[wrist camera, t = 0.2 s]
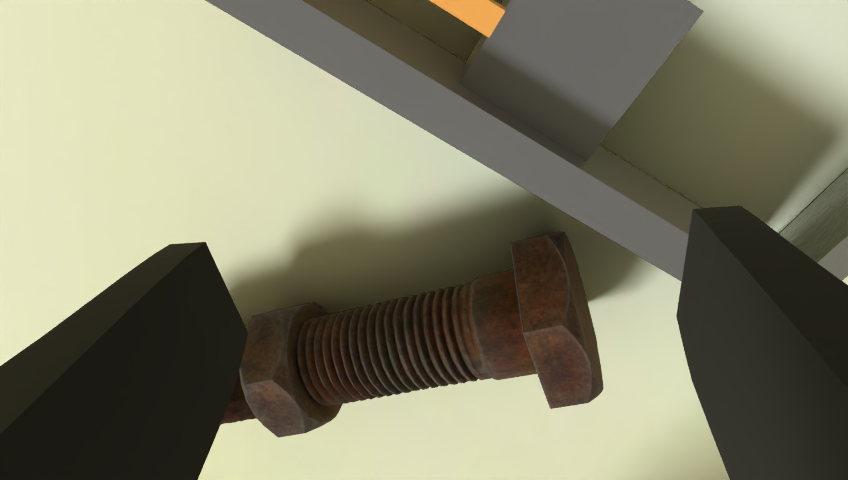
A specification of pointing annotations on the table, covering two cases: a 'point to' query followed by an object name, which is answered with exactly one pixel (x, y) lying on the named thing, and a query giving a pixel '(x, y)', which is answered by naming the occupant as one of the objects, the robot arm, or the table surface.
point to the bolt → (424, 343)
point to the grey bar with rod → (515, 94)
